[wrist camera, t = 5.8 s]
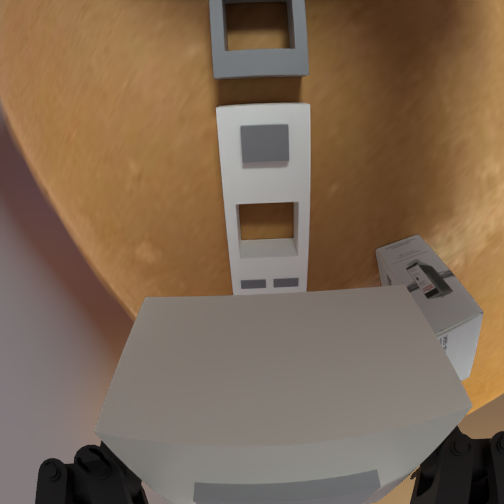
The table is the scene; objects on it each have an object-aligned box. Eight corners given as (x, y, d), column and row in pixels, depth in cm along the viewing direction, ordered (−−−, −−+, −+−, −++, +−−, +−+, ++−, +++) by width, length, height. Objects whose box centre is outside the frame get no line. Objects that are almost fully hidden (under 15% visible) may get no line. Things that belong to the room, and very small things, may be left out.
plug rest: (213, -15, 16) (207, -28, 13) (295, -18, 16) (301, -31, 13) (218, 79, 20) (213, 78, 17) (301, 76, 20) (309, 74, 17)
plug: (163, 257, 12) (87, 453, 5) (379, 248, 12) (481, 425, 4) (197, 389, 16) (181, 524, 9) (349, 381, 16) (379, 512, 9)
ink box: (423, 298, 30) (471, 380, 19) (384, 313, 31) (422, 402, 20) (419, 230, 26) (488, 311, 15) (373, 247, 27) (427, 339, 16)
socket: (220, 105, 21) (214, 108, 18) (302, 102, 21) (311, 104, 17) (237, 303, 30) (236, 329, 27) (300, 300, 29) (305, 326, 26)
